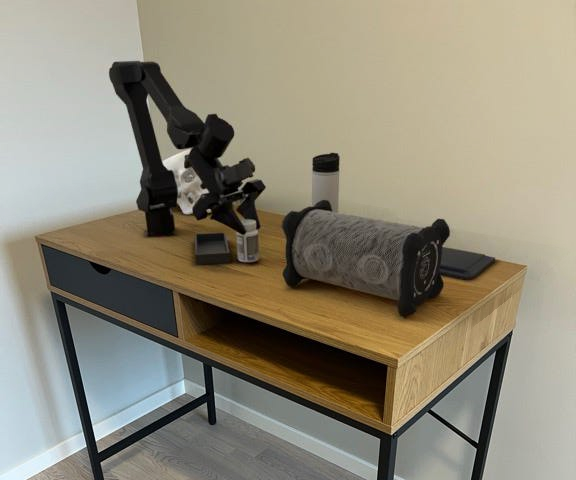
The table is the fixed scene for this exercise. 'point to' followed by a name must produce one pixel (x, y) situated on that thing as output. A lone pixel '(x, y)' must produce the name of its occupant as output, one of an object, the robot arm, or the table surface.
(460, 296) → the table surface
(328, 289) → the table surface
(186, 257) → the table surface
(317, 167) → the travel mug
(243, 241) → the pill bottle
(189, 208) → the white skull model
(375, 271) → the speaker
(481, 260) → the wallet
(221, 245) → the pen tray
